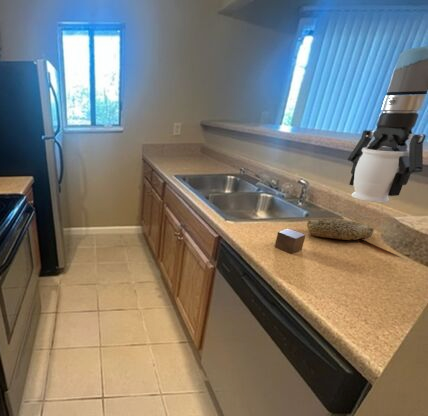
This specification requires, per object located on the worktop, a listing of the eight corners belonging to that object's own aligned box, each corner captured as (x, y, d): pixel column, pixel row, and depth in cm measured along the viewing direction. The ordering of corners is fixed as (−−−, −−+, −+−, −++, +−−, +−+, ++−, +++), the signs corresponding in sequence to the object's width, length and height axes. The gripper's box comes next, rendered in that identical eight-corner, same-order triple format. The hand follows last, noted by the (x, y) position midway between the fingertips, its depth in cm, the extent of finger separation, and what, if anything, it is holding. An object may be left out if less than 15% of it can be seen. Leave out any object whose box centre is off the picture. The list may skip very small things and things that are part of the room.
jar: (363, 192, 89) (379, 145, 84) (403, 202, 80) (423, 150, 75) (338, 195, 87) (352, 147, 82) (375, 206, 78) (394, 153, 72)
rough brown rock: (308, 241, 104) (382, 244, 93) (308, 221, 103) (382, 221, 92) (305, 234, 115) (370, 235, 104) (305, 216, 114) (370, 215, 103)
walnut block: (301, 250, 96) (306, 234, 94) (291, 254, 93) (295, 238, 91) (284, 242, 101) (288, 228, 99) (274, 246, 98) (277, 231, 96)
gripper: (346, 111, 85) (326, 180, 93) (443, 113, 64) (407, 203, 71) (367, 110, 86) (345, 179, 94) (468, 113, 65) (430, 201, 73)
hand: (372, 189), depth 83 cm, fingers closed on jar, 10 cm apart
